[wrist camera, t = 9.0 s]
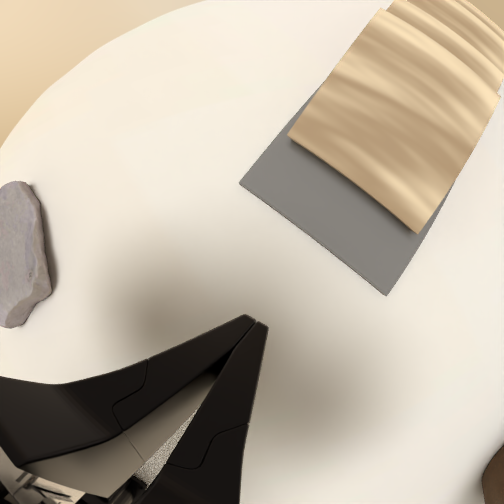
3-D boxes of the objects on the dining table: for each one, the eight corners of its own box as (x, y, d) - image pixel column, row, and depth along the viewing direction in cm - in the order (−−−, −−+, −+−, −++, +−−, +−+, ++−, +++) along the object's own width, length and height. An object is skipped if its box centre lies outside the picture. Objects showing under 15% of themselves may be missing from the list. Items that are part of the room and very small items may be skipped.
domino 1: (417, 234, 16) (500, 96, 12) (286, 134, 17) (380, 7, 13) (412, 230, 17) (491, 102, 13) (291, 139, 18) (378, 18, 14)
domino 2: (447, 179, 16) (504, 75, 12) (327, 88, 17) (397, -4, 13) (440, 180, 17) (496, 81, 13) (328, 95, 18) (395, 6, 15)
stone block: (43, 179, 23) (-14, 232, 22) (18, 162, 19) (-41, 224, 17) (83, 283, 23) (19, 331, 21) (55, 281, 18) (-11, 336, 17)
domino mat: (384, 295, 18) (386, 296, 17) (239, 184, 19) (239, 182, 19) (488, 94, 17) (490, 93, 17) (385, 18, 18) (386, 16, 18)
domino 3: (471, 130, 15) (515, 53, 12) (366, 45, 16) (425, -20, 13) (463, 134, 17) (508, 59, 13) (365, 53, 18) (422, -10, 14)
